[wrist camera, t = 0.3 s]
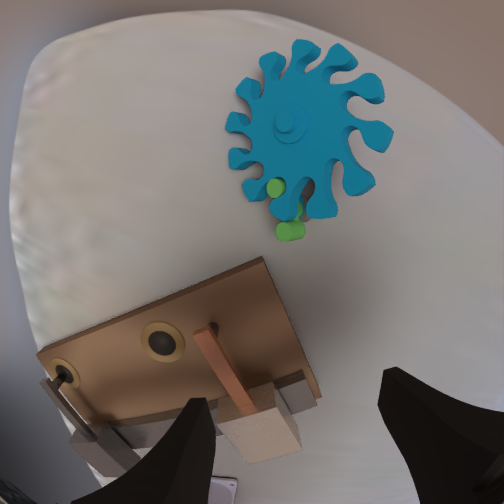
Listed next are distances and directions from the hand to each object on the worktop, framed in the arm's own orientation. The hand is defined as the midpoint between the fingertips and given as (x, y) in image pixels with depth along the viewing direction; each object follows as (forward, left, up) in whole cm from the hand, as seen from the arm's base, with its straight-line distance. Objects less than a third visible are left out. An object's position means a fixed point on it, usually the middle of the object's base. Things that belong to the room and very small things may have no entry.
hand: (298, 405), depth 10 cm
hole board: (-7, +8, -10) cm, 14 cm away
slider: (-5, +2, -8) cm, 9 cm away
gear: (+11, +1, -10) cm, 15 cm away
